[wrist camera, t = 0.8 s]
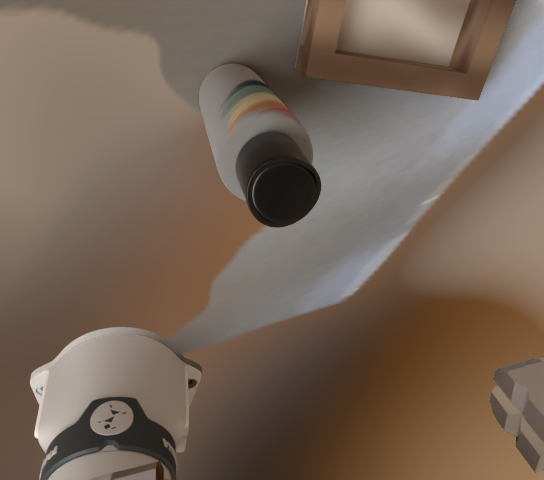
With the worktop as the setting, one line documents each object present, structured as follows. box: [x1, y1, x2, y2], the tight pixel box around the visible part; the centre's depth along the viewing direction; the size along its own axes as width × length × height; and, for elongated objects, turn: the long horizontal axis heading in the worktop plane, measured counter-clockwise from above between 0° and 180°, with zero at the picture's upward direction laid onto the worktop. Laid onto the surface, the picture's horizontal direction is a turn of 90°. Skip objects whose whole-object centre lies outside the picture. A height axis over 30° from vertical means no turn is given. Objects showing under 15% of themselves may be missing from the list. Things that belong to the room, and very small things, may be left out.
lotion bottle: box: [199, 64, 321, 227], centre depth 31 cm, size 6×6×20 cm
